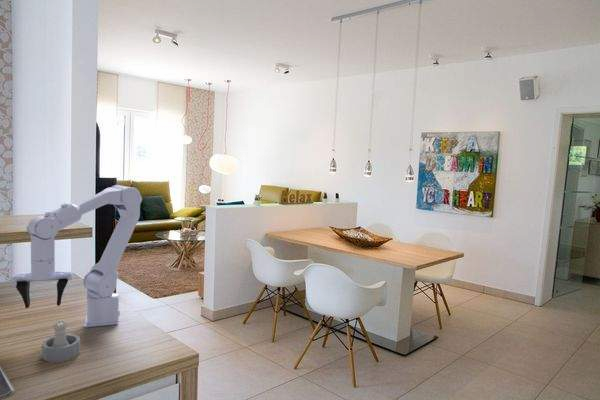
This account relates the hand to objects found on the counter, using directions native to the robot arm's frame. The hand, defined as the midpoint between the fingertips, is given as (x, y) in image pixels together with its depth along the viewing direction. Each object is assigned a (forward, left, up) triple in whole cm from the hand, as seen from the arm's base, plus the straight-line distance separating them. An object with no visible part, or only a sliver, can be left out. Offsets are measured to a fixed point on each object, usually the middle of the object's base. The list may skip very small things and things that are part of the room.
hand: (43, 305), depth 119 cm
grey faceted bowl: (-6, +12, -9) cm, 16 cm away
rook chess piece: (-6, +12, -9) cm, 16 cm away
